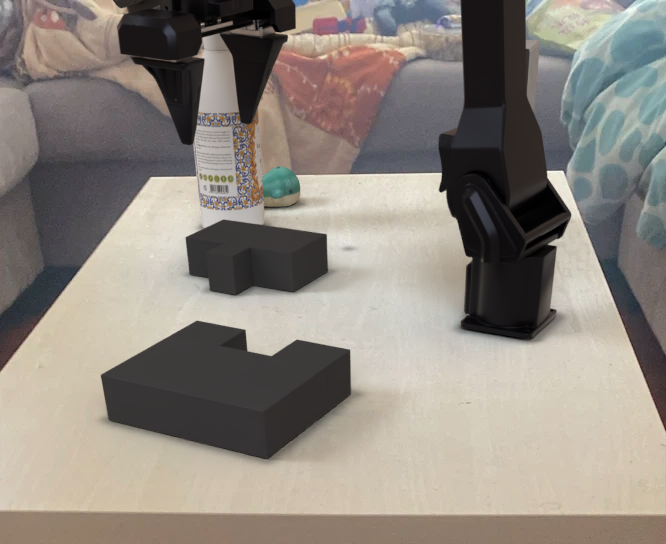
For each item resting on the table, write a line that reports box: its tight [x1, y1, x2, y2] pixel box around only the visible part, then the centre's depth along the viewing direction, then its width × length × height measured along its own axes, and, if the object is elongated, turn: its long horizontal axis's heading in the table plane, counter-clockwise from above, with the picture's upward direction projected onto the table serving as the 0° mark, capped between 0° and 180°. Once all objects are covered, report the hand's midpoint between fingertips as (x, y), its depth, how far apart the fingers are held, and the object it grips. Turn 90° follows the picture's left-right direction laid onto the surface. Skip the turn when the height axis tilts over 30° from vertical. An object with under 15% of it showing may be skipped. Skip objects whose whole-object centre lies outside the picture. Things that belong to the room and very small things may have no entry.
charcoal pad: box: [100, 320, 352, 460], centre depth 77 cm, size 14×12×4 cm
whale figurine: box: [262, 165, 301, 208], centre depth 119 cm, size 6×7×4 cm
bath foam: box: [192, 19, 266, 229], centre depth 107 cm, size 7×7×20 cm
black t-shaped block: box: [185, 219, 329, 296], centre depth 99 cm, size 12×10×4 cm
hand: (217, 133), depth 96 cm, fingers open, 9 cm apart
